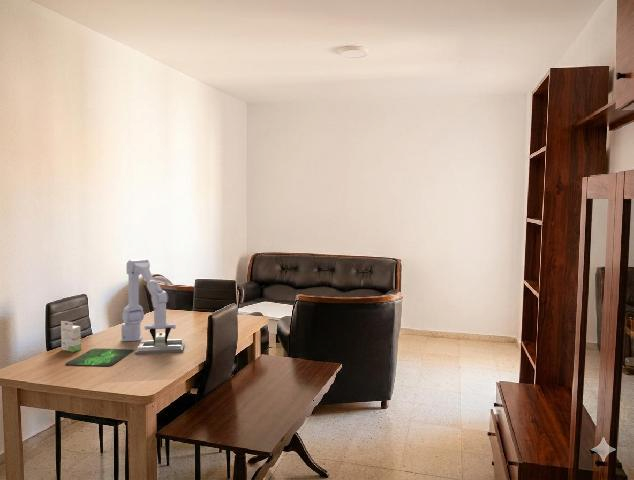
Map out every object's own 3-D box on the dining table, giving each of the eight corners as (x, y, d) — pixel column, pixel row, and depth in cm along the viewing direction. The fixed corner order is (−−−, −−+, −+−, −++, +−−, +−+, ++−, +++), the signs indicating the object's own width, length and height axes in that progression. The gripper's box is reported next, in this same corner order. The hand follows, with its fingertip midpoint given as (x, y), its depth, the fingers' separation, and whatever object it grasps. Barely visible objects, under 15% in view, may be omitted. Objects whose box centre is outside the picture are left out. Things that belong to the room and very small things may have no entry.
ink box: (81, 349, 255) (81, 320, 253) (73, 352, 250) (72, 322, 249) (69, 347, 258) (68, 318, 257) (61, 349, 254) (60, 320, 253)
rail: (137, 351, 248) (137, 347, 248) (141, 344, 259) (141, 340, 259) (180, 349, 252) (180, 345, 252) (182, 342, 263) (182, 339, 263)
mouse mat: (93, 349, 257) (92, 347, 257) (136, 349, 256) (136, 347, 256) (63, 366, 230) (63, 364, 230) (111, 367, 229) (111, 365, 229)
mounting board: (135, 354, 247) (135, 351, 247) (139, 346, 260) (139, 344, 260) (182, 352, 252) (182, 349, 252) (184, 344, 264) (184, 342, 264)
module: (155, 349, 252) (154, 335, 251) (156, 344, 259) (156, 331, 259) (164, 349, 252) (164, 335, 252) (166, 344, 260) (166, 330, 260)
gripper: (143, 318, 249) (144, 346, 250) (174, 317, 252) (175, 344, 253) (145, 315, 256) (146, 342, 257) (175, 314, 259) (176, 340, 260)
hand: (160, 343), depth 256 cm, fingers closed on module, 5 cm apart
